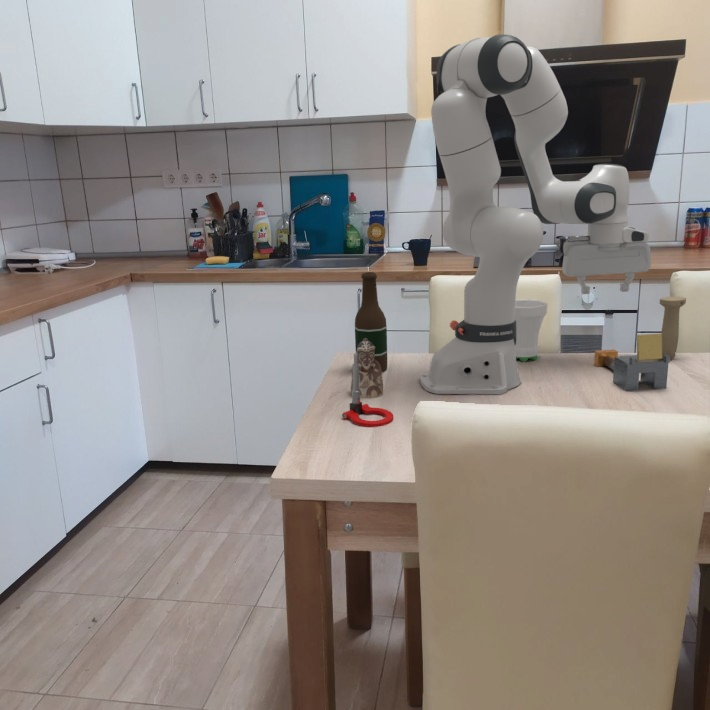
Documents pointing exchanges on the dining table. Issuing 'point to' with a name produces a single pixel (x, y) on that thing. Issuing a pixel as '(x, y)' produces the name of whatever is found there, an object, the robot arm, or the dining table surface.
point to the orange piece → (605, 358)
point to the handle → (671, 324)
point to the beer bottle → (371, 320)
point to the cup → (528, 327)
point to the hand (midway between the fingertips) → (604, 292)
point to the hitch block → (629, 372)
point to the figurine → (368, 371)
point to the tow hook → (358, 408)
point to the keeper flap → (649, 348)
